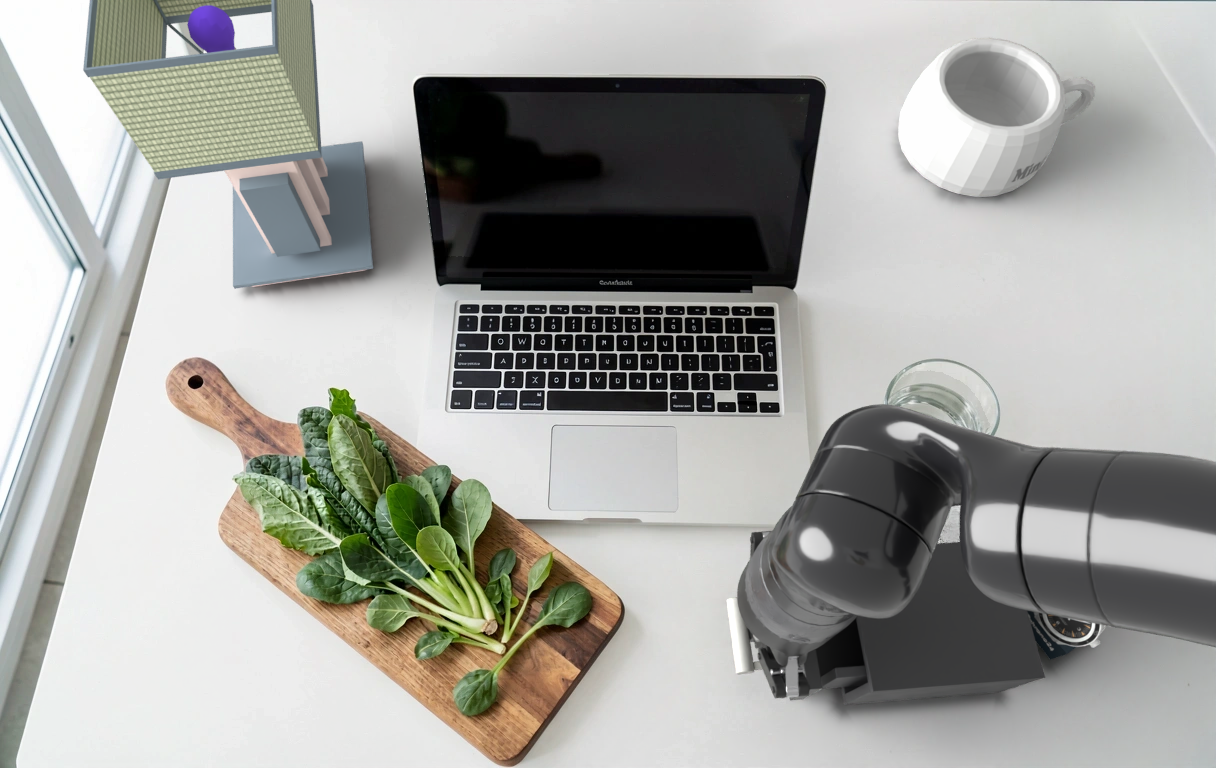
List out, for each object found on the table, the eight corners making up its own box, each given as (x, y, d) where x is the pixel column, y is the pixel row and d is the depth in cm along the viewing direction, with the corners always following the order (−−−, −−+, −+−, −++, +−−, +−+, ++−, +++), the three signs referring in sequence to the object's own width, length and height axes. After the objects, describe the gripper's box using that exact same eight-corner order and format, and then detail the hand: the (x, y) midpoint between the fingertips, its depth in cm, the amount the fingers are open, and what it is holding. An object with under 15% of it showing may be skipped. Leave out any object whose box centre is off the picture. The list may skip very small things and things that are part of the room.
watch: (991, 616, 81) (1046, 588, 71) (1058, 571, 83) (1120, 538, 73) (1034, 672, 79) (1096, 651, 69) (1101, 625, 81) (1172, 598, 71)
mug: (921, 217, 100) (954, 157, 91) (872, 103, 107) (897, 37, 98) (1100, 186, 102) (1149, 124, 93) (1040, 76, 109) (1080, 10, 100)
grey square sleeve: (843, 704, 77) (872, 691, 69) (820, 576, 82) (845, 550, 74) (998, 692, 78) (1045, 677, 70) (967, 565, 83) (1007, 538, 75)
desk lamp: (378, 285, 95) (279, 46, 66) (241, 305, 94) (79, 70, 65) (366, 150, 103) (274, -117, 74) (240, 167, 102) (95, -98, 72)
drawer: (731, 705, 76) (744, 694, 70) (717, 588, 81) (727, 568, 74) (934, 689, 77) (965, 677, 71) (908, 574, 81) (935, 553, 75)
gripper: (877, 684, 57) (817, 712, 73) (839, 486, 63) (791, 552, 79) (760, 693, 57) (725, 719, 73) (733, 493, 63) (706, 557, 78)
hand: (759, 632), depth 76 cm, fingers closed
